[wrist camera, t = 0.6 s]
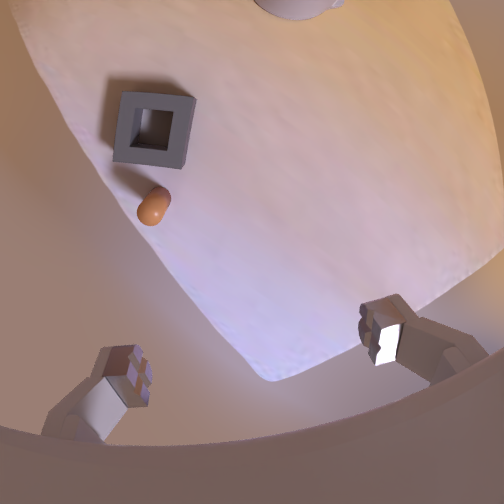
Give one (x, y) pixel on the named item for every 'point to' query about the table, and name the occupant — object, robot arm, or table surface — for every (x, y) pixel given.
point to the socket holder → (130, 128)
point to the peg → (154, 206)
